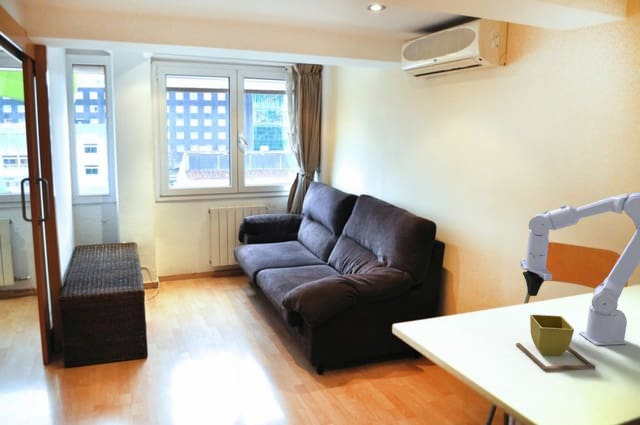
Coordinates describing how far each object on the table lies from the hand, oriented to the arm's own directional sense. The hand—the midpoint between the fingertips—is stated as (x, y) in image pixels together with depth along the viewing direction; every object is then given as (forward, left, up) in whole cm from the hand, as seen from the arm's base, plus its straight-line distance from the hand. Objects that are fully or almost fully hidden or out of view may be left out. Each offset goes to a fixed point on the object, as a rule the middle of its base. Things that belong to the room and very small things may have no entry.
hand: (532, 295), depth 150 cm
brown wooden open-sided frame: (+5, +21, -9) cm, 24 cm away
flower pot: (+5, +18, -10) cm, 21 cm away
